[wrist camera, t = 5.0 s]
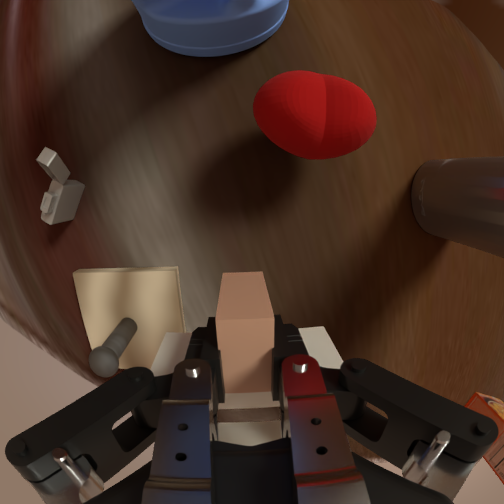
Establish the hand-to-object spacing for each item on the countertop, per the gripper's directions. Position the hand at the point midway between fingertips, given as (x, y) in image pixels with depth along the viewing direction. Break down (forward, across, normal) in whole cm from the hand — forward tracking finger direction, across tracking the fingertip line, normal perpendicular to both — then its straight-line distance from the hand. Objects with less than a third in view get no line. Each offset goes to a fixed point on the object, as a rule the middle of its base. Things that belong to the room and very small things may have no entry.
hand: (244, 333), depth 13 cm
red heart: (+15, -6, -12) cm, 20 cm away
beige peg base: (+14, +12, +7) cm, 20 cm away
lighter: (+15, +17, -8) cm, 24 cm away
